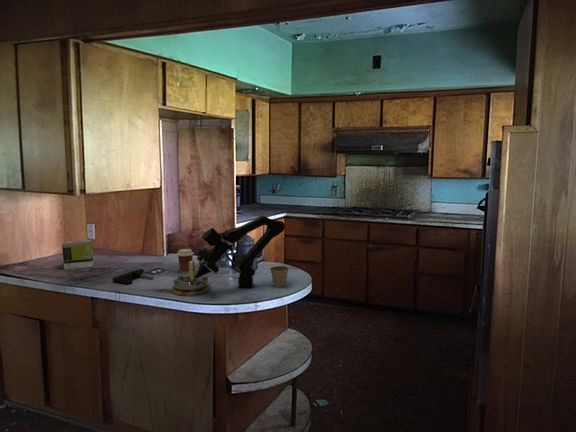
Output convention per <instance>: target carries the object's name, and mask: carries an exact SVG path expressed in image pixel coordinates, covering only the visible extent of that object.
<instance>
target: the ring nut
mask: <svg viewBox="0 0 576 432" xmlns="http://www.w3.org/2000/svg"><path fill="white" fill-rule="evenodd" d="M188 274H189V275H187V276H186V275H185V276H184V275H178V276H177V278H175V279H173V286H174V289H175V290H178V291H184V292H191V291H199V290H203V289H205V288H207V287H208V284H209V277H208V276H207V275H203V276H201V277H199V278H197V279H196V278H195V275H196V273H195V261H194V260H192V261H189V273H188Z"/></svg>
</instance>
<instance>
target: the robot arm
mask: <svg viewBox="0 0 576 432" xmlns="http://www.w3.org/2000/svg"><path fill="white" fill-rule="evenodd" d="M263 226H266V229H265V232H263V235H261V237H260V238H259V239H258V240H257V241H256V242H255V244H253V246H251V248H250V249H249V250H248V251H247V253H245V254H243V253H240V254H239V256H238V257H237V258H235V261H234V268H235V270H236V271H237V272H238V273H239V276H238V277H237V278H238V279H237V280H238V288H243V289H252V288H253V287H254V285H255V283H254V276H255V275H256V270H255V269H254V268H252V267H253V265H254V262H255V259H256V258H257V257H258V256H259V255H260V253H262V251H263V250H264V249H265V247H266V246H267V245H268V244H269V243H270V242H271V240H272V239H274V238H275V237H278V236H279V235H280V234H282V232H284V231H285V228H286V225H285V222H284V221H282V220H278V219H272V218H269V217H267V216H264V215H260V216H258V217H256V218H253V219H252V220H250V221H248V222H246V223H245V224H242V225H239V226H237V227H231V228H228V229H226V230H224V232H220V233H218V232H217V231H216V229H214V228H213V227H210V229H208V230H206V231H205V232H204V233H202V237H201V239H202V240H203V241H204V242H206V243H207V244H208V245H209V246H210V247H212V249H211V248H209V249H206V248H200V247H199V246H198V247H196V250H195V252H194V255H196V256H197V257H196V259H197V260H198V264H199V266H198V268H197V271H196V273H195V274H196V275H195V278H196V279H197V278H199V277H201V276H202V277H204V276H206V275H207V274H209V273H213V272H214V274H217V273H218V272H219V267H218V266H217V265H216V264H217V263H218V261H221V260H222V259H223V258H222V257H223V256H224V255H225V254H226V252H227V251H228V250H229V251H230V252H232V251H233V245H232V244H236V243H237V242H238V241H240V240H241V239H242V238H243V236H245V235H247V234H248V233H251V232H253V231H254V230H257V229H259V228H260V227H263ZM222 240H223V241H222Z"/></svg>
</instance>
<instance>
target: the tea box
mask: <svg viewBox="0 0 576 432" xmlns="http://www.w3.org/2000/svg"><path fill="white" fill-rule="evenodd" d="M61 248H62V260H63V267H64V268H63V269H64V270H72V269H75V270H77V269H83V268H84V269H85V268H93V267H94V263H95V262H94V261H95V260H94V251H93V240H92V239H82V240H70V241H69V240H68V241H67V240H66V241H63V243H62V244H61Z"/></svg>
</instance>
